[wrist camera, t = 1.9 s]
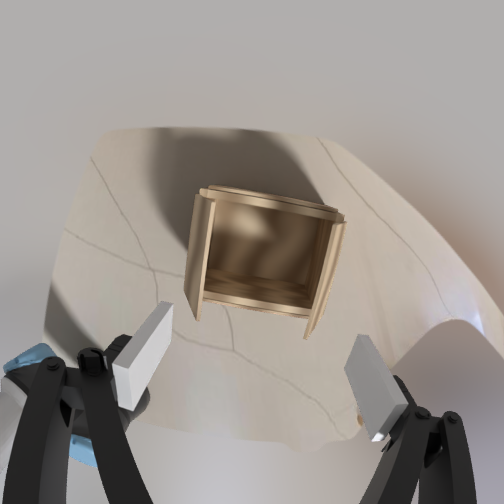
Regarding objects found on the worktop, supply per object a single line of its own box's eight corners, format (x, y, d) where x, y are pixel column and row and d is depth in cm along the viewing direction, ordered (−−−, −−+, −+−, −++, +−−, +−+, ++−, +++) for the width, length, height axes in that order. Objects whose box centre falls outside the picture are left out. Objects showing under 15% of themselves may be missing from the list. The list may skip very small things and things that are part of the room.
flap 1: (186, 290, 36) (183, 290, 36) (198, 193, 33) (195, 193, 33) (199, 321, 29) (196, 321, 29) (215, 202, 26) (211, 201, 26)
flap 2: (303, 338, 29) (306, 339, 29) (332, 224, 26) (336, 225, 26) (320, 313, 36) (323, 314, 36) (344, 221, 33) (347, 221, 33)
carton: (201, 273, 46) (186, 297, 37) (214, 183, 43) (200, 184, 33) (307, 292, 46) (317, 320, 37) (327, 204, 43) (345, 211, 33)
